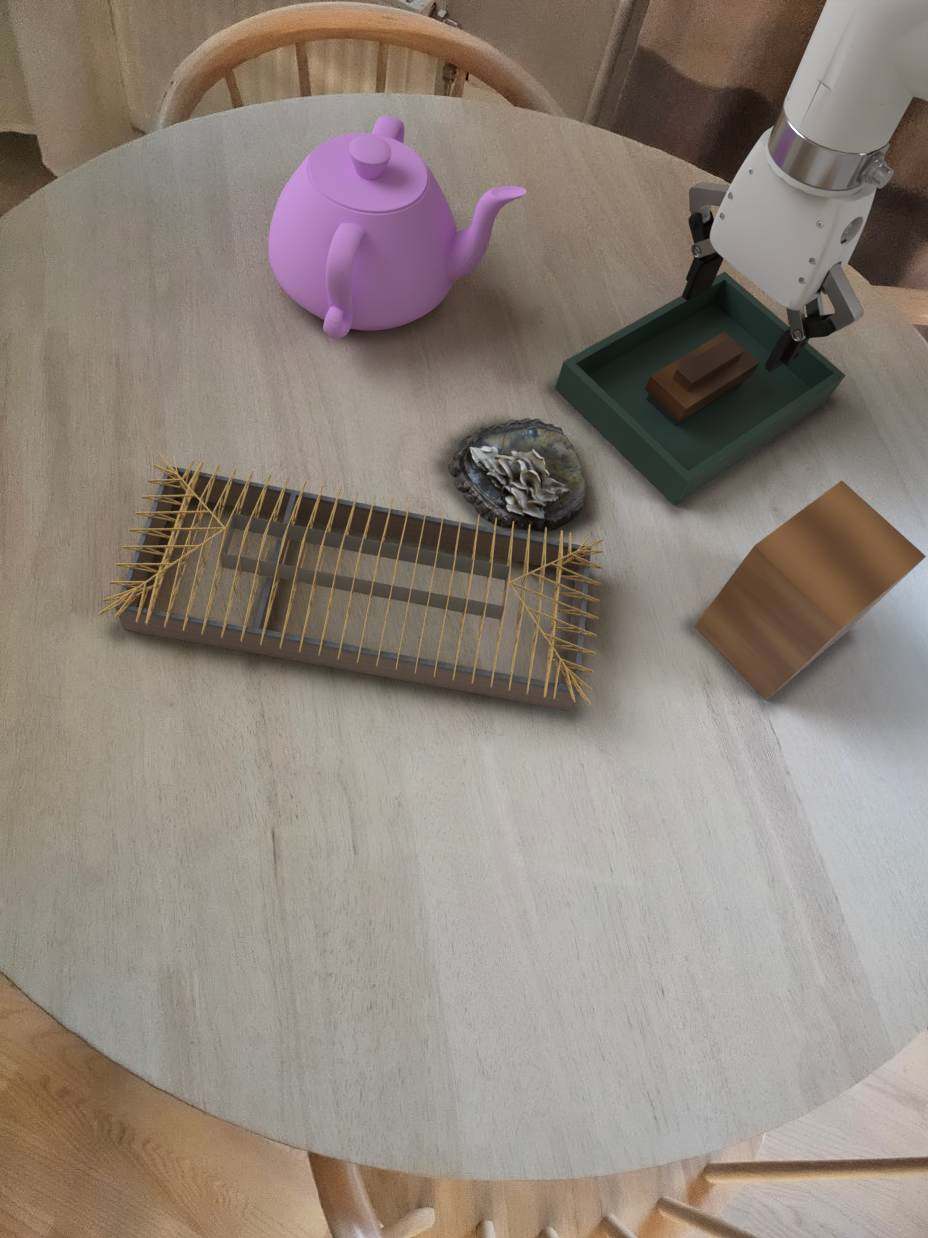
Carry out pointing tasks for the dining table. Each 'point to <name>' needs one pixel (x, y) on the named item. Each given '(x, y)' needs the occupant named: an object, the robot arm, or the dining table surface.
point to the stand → (806, 587)
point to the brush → (700, 378)
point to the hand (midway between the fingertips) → (736, 327)
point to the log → (520, 475)
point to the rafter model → (354, 581)
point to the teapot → (373, 233)
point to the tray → (719, 433)
